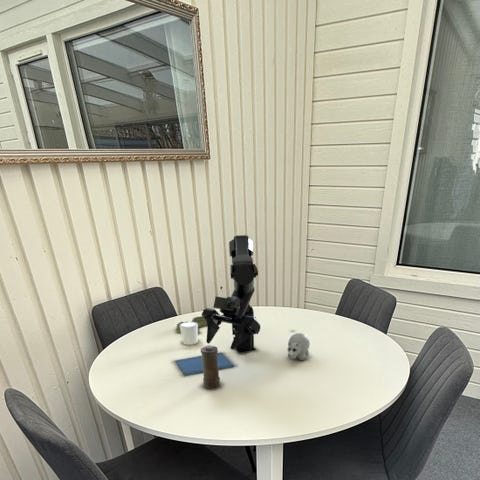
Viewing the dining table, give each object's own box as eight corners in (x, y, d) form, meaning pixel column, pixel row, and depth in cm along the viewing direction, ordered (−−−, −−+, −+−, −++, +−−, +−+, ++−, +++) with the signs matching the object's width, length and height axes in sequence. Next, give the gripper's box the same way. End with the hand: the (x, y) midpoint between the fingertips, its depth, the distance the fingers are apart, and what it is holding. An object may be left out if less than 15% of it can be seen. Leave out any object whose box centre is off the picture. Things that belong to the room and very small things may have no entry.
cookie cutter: (194, 335, 164) (194, 331, 163) (171, 331, 169) (170, 326, 168) (219, 323, 177) (219, 318, 176) (197, 319, 182) (196, 314, 181)
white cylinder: (196, 345, 155) (194, 327, 151) (178, 344, 156) (176, 326, 152) (201, 339, 160) (199, 321, 157) (184, 338, 162) (182, 321, 158)
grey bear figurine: (279, 364, 137) (279, 340, 133) (292, 352, 146) (293, 328, 142) (299, 368, 134) (300, 343, 130) (311, 355, 143) (313, 331, 139)
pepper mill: (216, 380, 128) (214, 342, 122) (222, 387, 124) (219, 348, 118) (201, 383, 127) (198, 345, 120) (206, 390, 123) (203, 351, 116)
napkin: (221, 353, 148) (221, 352, 147) (234, 366, 137) (234, 365, 137) (175, 361, 143) (174, 360, 142) (184, 375, 132) (184, 374, 132)
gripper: (202, 280, 122) (181, 327, 121) (254, 288, 113) (232, 338, 111) (220, 301, 132) (201, 344, 130) (269, 309, 122) (249, 356, 121)
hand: (219, 345), depth 123 cm, fingers open, 9 cm apart
